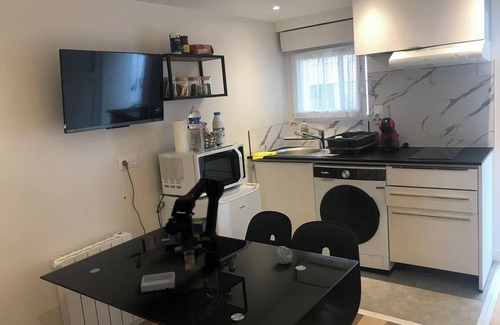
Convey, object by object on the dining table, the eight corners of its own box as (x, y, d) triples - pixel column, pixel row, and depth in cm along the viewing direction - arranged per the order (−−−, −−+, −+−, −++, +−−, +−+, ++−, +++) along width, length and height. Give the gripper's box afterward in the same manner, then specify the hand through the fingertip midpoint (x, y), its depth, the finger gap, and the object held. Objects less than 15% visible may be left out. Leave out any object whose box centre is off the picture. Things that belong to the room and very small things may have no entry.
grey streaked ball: (286, 267, 185) (285, 250, 184) (272, 265, 189) (270, 248, 188) (296, 261, 191) (294, 245, 190) (281, 259, 196) (280, 242, 195)
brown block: (195, 263, 183) (193, 248, 182) (195, 268, 177) (193, 253, 176) (185, 264, 182) (184, 249, 181) (185, 270, 177) (184, 254, 176)
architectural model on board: (143, 254, 220) (141, 236, 219) (139, 253, 222) (137, 235, 220) (158, 247, 230) (156, 229, 228) (154, 246, 231) (152, 229, 230)
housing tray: (174, 277, 185) (174, 271, 185) (174, 287, 174) (173, 281, 174) (143, 281, 183) (143, 275, 183) (141, 292, 172) (140, 286, 172)
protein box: (181, 247, 225) (178, 218, 223) (209, 245, 223) (206, 217, 221) (175, 254, 215) (171, 224, 213) (204, 253, 213) (201, 223, 211)
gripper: (162, 236, 168) (167, 274, 170) (209, 230, 171) (213, 267, 173) (164, 228, 179) (168, 264, 181) (208, 223, 182) (211, 258, 184)
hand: (190, 263), depth 180 cm, fingers closed on brown block, 4 cm apart
